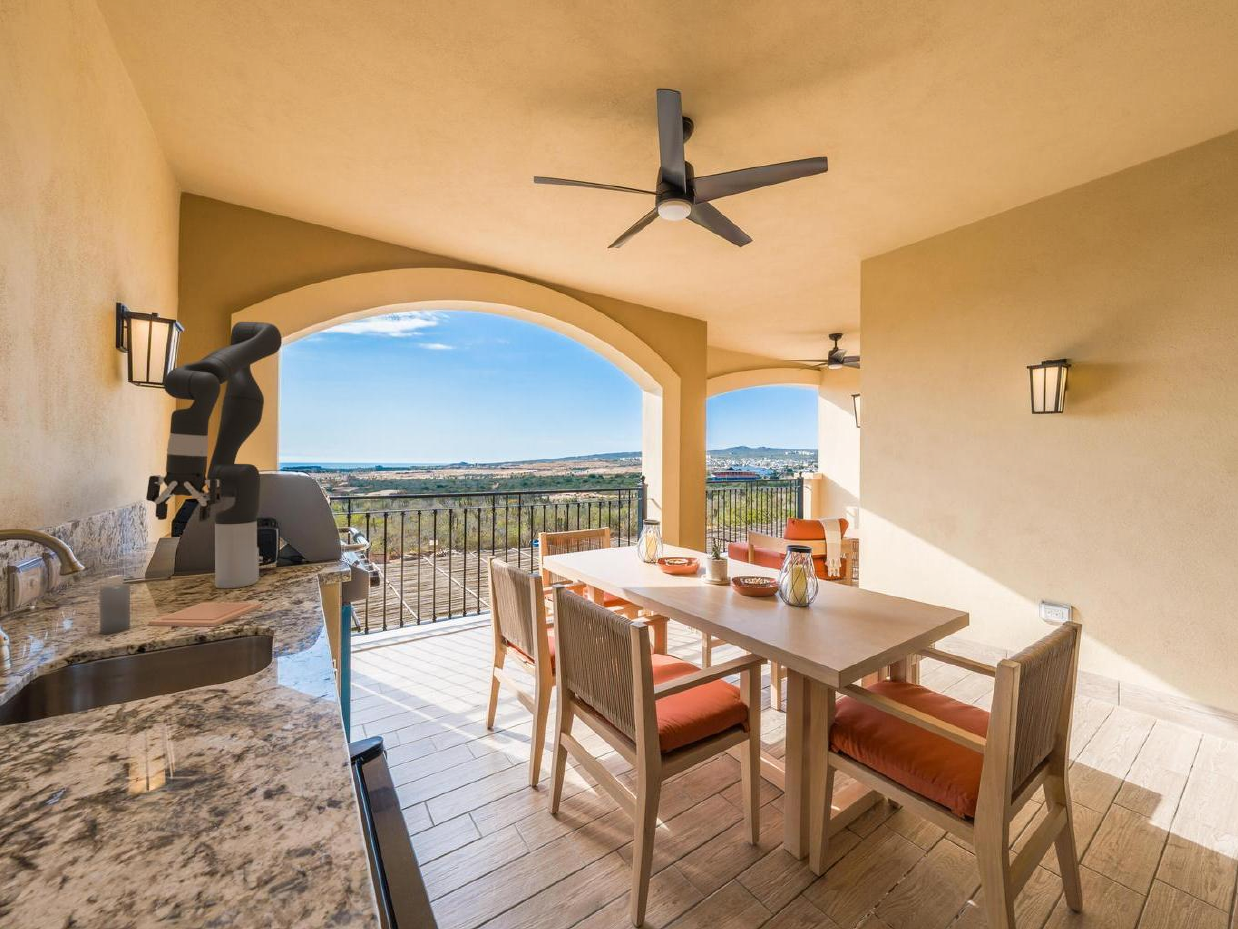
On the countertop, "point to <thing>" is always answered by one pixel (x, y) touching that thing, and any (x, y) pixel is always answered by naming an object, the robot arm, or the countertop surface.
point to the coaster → (205, 614)
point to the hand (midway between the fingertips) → (182, 520)
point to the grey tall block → (114, 606)
